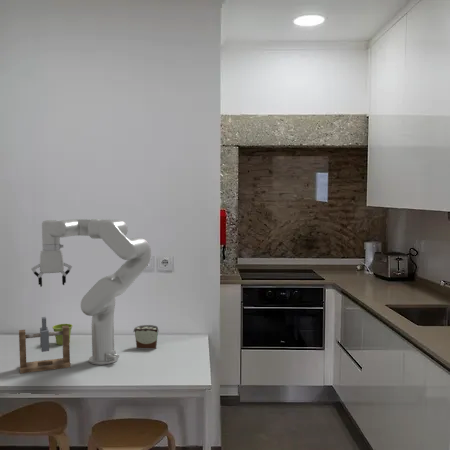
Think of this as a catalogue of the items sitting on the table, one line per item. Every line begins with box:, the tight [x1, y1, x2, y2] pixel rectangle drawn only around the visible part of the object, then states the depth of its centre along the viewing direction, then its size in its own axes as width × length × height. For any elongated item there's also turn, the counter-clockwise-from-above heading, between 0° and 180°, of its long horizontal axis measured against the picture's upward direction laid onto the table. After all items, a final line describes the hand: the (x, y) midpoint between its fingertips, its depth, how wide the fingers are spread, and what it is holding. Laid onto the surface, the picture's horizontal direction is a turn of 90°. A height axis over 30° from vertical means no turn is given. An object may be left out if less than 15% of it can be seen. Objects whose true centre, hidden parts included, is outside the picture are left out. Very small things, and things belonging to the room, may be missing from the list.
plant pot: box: [52, 323, 73, 346], centre depth 261 cm, size 9×9×9 cm
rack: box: [18, 326, 71, 374], centre depth 227 cm, size 20×9×16 cm, turn 111°
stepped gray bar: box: [39, 316, 50, 353], centre depth 226 cm, size 8×3×14 cm, turn 23°
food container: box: [133, 324, 160, 350], centre depth 255 cm, size 12×6×10 cm, turn 84°
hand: (52, 285), depth 240 cm, fingers open, 9 cm apart
